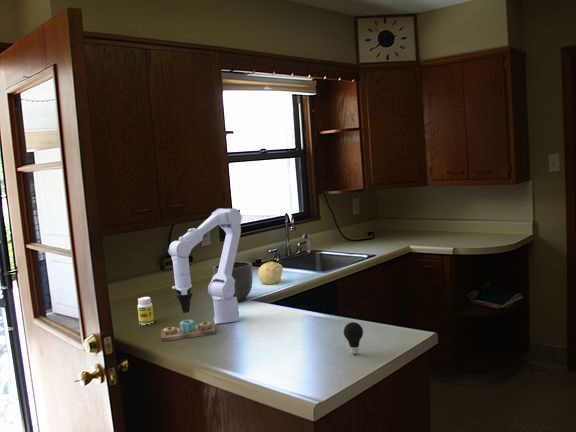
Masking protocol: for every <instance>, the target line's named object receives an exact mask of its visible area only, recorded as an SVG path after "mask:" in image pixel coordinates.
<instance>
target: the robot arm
mask: <svg viewBox="0 0 576 432" xmlns="http://www.w3.org/2000/svg"><path fill="white" fill-rule="evenodd" d="M242 219H243V216H242V214H241V213H240V211H239V210H238V209H237V208H217V209H215V210H214V211H213V212H211V215H210V216H209V217H208V218H207V219H205V220H204V221H203V222H202V223H201V224H200V225H199V226H198V227H197V228H193V227H192V228H189V229H188V230H187V232H186V233H185V234H183V235H182V236H179V238H178V240H174V241H172V242H171V243H170V244H169V247H168V249H167V252H168V254H169V255H170V256H171V260H172V268H173V278H174V284H175V285H173V286H171V289H172V290H174V289H175V292H176V295H175V296H176V298H177V300H178V301H179V303H180V307H181V310H182V312H183V314H185V313H190V309H191V308H190V307H191V300H192V297H193V292H191V290H192V287H193V284H192V280H191V271H190V261H189V259H190V258H189V256H190V254H191V252H192V249H193V248H194V247H195V246H197V245H198V244H200V242H202V241H203V239H204V238H203V237H204V235H205V234H207V233H208V232H210V231H211V230H212V229H214V228H215V227H217V226H219V227H220V228H221V230H223V231H224V232H225V238H224V243H223V247H222V252H221V255H220V261H219V263H218V264H219V268H218V272H217V273H216V274H215V275H213V276H212V278H211V281H210V282H209V284H208V286H207V292H208V294H209V295H210V296H211V299H212V302H213V312H214V317H213V322H214V324H215V325H220V324H227V323H232V322H239V321H240V320H241V319H240V312H239V302H237V297H233V295H234V293H235V286H234V284H235V280H234V278H233V277H232V270H233V266H234V262H236V261H235V260H236V256H237V253H238V246H239V242H240V238H241V232H242V228H241V223H242ZM222 281H225V282H222Z"/></svg>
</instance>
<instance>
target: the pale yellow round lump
mask: <svg viewBox="0 0 576 432" xmlns="http://www.w3.org/2000/svg"><path fill="white" fill-rule="evenodd" d="M283 269H284V267H283V265H282V264H280V263H279V262H275V261H267V262H266V263H263V264H262V265H261V266H260V267H259V268H258V272H257V278H258V280H259V281H260V283H262V284H265V285H274V284H278V283H279V282H280V281H281V279H282V275H283Z"/></svg>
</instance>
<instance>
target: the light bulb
mask: <svg viewBox="0 0 576 432" xmlns="http://www.w3.org/2000/svg"><path fill="white" fill-rule="evenodd" d="M363 335H364V330H363V327H362V326H361V324H360V323H358V322H354V321H352V322H349V323H347V324H346V325H345V326H344V328H343V336H344V338H345V339H346V340H347V342H348V345H349V347H350V353H351V354H352V355H357V354H358V353H359V352H360V350H359V346H360V341H361V339H362V337H363Z"/></svg>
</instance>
